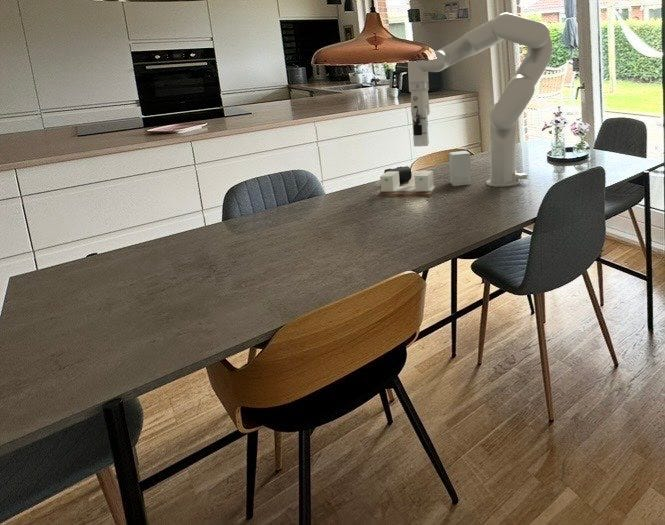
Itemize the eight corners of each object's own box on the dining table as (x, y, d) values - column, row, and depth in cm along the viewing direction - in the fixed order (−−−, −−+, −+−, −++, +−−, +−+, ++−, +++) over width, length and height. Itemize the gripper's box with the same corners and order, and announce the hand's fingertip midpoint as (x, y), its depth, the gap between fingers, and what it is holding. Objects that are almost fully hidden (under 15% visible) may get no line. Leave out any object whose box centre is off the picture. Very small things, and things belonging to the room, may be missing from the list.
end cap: (391, 186, 240) (390, 170, 237) (384, 183, 246) (383, 168, 244) (412, 182, 242) (411, 166, 240) (404, 179, 249) (403, 164, 246)
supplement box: (471, 184, 228) (470, 153, 224) (452, 186, 228) (451, 155, 224) (467, 180, 235) (466, 150, 231) (449, 182, 235) (448, 152, 231)
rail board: (437, 188, 227) (436, 184, 226) (430, 196, 217) (429, 192, 216) (387, 189, 235) (386, 185, 235) (378, 196, 225) (377, 192, 225)
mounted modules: (433, 185, 226) (432, 170, 223) (427, 191, 218) (427, 176, 215) (388, 185, 233) (387, 171, 231) (380, 191, 225) (379, 176, 223)
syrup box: (428, 145, 224) (426, 108, 219) (413, 146, 225) (411, 109, 220) (428, 143, 229) (427, 106, 224) (414, 144, 230) (412, 107, 225)
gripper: (421, 88, 210) (423, 137, 216) (434, 84, 225) (435, 129, 231) (402, 89, 213) (405, 137, 220) (415, 85, 228) (417, 130, 234)
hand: (420, 133), depth 225 cm, fingers closed on syrup box, 6 cm apart
